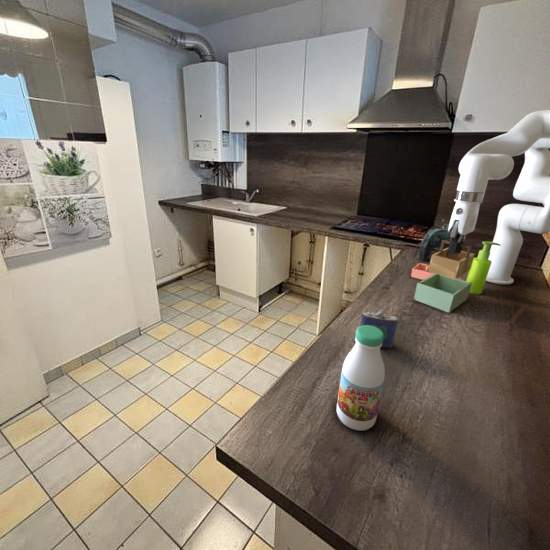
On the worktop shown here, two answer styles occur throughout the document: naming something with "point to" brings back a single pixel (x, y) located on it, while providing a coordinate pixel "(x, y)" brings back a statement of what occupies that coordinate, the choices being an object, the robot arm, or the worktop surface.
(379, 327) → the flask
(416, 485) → the worktop surface
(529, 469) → the worktop surface
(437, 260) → the wooden basket
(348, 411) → the milk bottle
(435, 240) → the dark green animal figurine
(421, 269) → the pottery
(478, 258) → the soap dispenser
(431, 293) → the green basket
